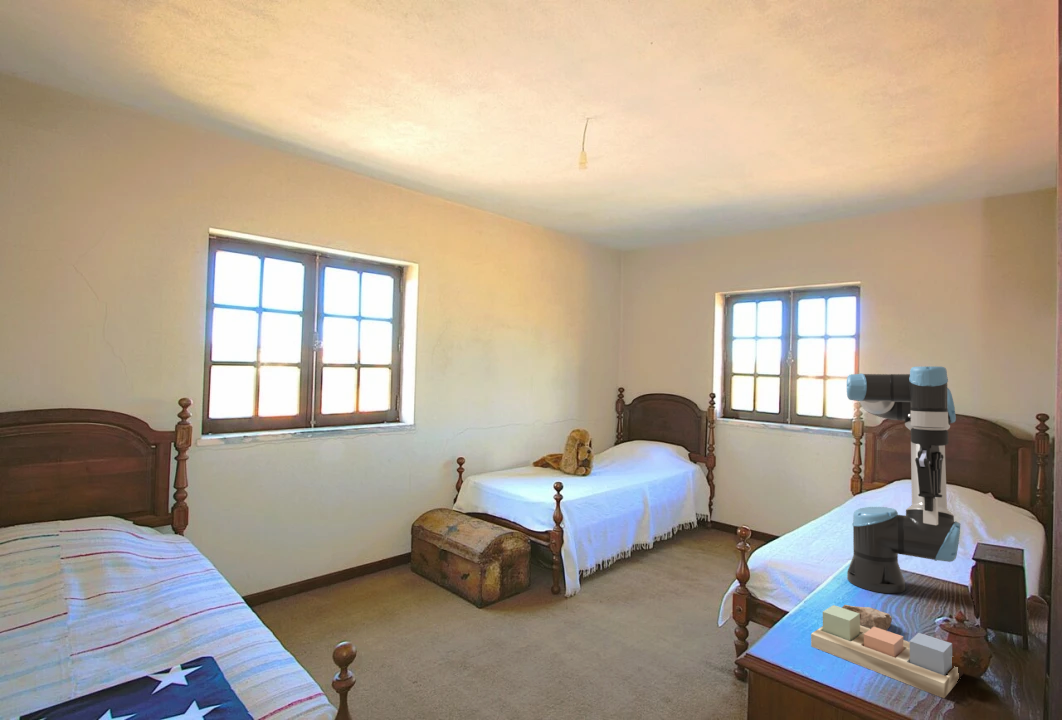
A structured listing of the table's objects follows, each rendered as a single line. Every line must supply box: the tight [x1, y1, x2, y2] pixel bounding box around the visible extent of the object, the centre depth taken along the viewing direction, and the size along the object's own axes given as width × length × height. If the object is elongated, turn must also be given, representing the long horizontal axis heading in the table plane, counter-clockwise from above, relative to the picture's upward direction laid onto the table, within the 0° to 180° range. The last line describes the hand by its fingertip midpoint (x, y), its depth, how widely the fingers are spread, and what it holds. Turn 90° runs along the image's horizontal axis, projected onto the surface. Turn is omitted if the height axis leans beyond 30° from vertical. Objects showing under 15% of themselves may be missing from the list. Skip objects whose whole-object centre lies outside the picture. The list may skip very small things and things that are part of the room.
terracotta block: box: [864, 627, 904, 658], centre depth 122 cm, size 6×6×5 cm
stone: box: [841, 604, 893, 631], centre depth 139 cm, size 9×11×5 cm
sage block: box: [822, 604, 860, 641], centre depth 129 cm, size 6×6×5 cm
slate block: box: [909, 632, 953, 676], centre depth 115 cm, size 6×6×5 cm
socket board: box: [810, 625, 959, 699], centre depth 122 cm, size 14×26×3 cm, turn 38°
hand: (930, 523), depth 132 cm, fingers closed
